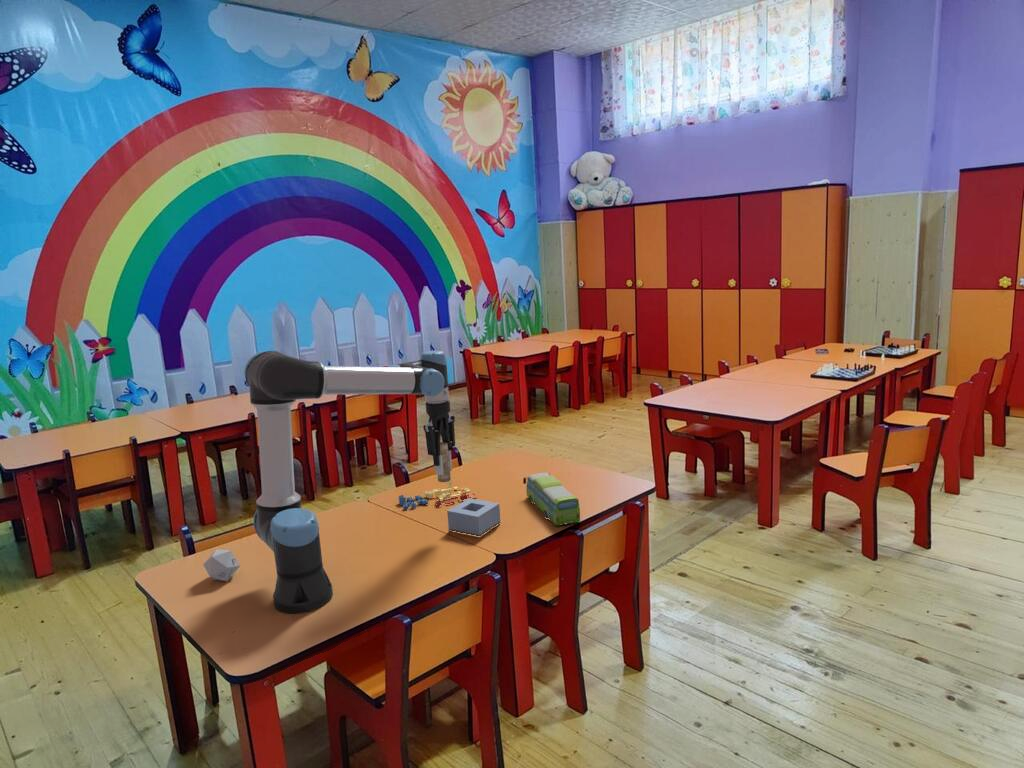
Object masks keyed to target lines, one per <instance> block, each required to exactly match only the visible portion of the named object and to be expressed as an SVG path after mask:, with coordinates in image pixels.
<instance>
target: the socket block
mask: <svg viewBox="0 0 1024 768" xmlns="http://www.w3.org/2000/svg"><path fill="white" fill-rule="evenodd" d="M500 508H501V507H500V503H499V502H492V501H487V500H482V499H478V498H476V499H471V498H468V499H467V500H465V501H463V502H459V503H458V504H455V506H453V507H451V508H450V509H447V511H446V514H447V526H448V531H449V530H451V531H456V532H460V533H466V534H471V535H476V536H481V535H482V534H484V533H485V532H487V531H488V530H490V529H491V528H492V527H494V526H496V525H497V524H499V523H501V510H500Z"/></svg>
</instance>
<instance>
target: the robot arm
mask: <svg viewBox="0 0 1024 768" xmlns="http://www.w3.org/2000/svg"><path fill="white" fill-rule="evenodd" d="M243 372H244V379H245V382H246V384H247V385H248V387H249V398H250V404H251V405H252V406H253V407H255V409H256V414H257V430H258V431H257V432H258V433H257V434H258V448H259V449H258V450H259V451H258V452H259V465H260V466H259V467H260V468H259V469H260V481H261V482H260V483H261V495H260V496H259V497H258V498H257V499H256V501H255V502H256V510H255V512H254V515H253V520H252V521H253V528H254V531H255V533H256V534H257V537H259V539H260V540H261V541H263V542H264V544H266V545H267V546H268V547H269V549H270V550H272V552H273V555H274V561H275V569H276V580H275V581H276V582H275V587H274V592H273V595H272V600H273V607H274V608H275V610H277V611H279V612H281V613H285V614H300V613H306V612H310V611H313V610H316V609H318V608H320V607H322V606H324V605H325V604H327V603H329V601H330V600H331V599H332V598H333V595H334V594H333V593H334V592H333V585H332V582H331V580H330V578H329V576H328V574H327V572H326V570H325V569H324V563H323V557H322V547H321V539H320V525H319V522H318V518H317V516H316V514H315V513H314V512H313V511H312V510H309V509H307V508H303V509H302V498H301V497H302V496H301V495H300V494H299V493H298V492H296V491H295V490H296V488H295V471H294V469H295V468H294V448H293V429H292V427H293V426H292V413H291V411H292V406H293V405H294V404H295V403H296V401H297V400H310V399H311V400H313V399H314V400H315V399H316V400H317V399H319V400H320V399H321V398H322V396H324V395H325V396H326V395H328V396H329V395H335V396H336V395H424V401H425V410H426V411H425V412H426V414H427V415H428V417H429V419H428V423H427V424H425V425H423V427H422V428H423V431H424V433H425V440H426V442H425V443H426V451H427V455H428V456H432V459H433V465H434V466H433V467H434V473H435V475H436V476H438V475H444V473H443V462H442V455H440V442H447V443H448V454H449V465H450V472H451V471H453V464H452V463H453V462H452V459H453V458H452V457H453V456H452V451H454V450H455V446H456V433H455V419H456V416H455V415H450V412H451V401H450V400H449V399H450V393H449V391H450V390H449V380H448V378H449V377H448V363H447V358H446V353H445V352H444V351H442V350H427V351H424V352H422V353H421V354H420V359H419V360H413V361H409V362H402V363H395V364H391V365H389V366H359V365H358V366H354V365H324V364H323V363H322V362H321V361H314V360H312V361H311V360H305V359H299V358H297V357H294V356H289V355H288V354H284V353H282V352H280V351H277V350H264V351H259V352H257V353H255V354H254V355H252V357H250V358H249V359H248V360H247V362H246V365H245V366H244V371H243Z"/></svg>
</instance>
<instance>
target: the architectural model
mask: <svg viewBox="0 0 1024 768" xmlns="http://www.w3.org/2000/svg"><path fill="white" fill-rule="evenodd" d="M452 481H453V480H452V479H451V480H450V481H448V482H447V488H444V489H441V488H434V489H431V490H430V489H427V490H426V491H424V497H425V496H426V497H427V498H433V495H434V496H435V497H437V496H439V497H438V498H439V499H440V500H445V499H447V498H450V497H451V498H452V497H456V496H459V495H461V496H460V499H461V500H464V499H467V498H471V497H469V494H468V495H466V494H465V493H469V492H471V493H472V491H471V489H469V488H468V487H462V488H460V489H461V491H459V490H458V491H457V492H458V494H457V493H454V494H450V493H451V492H453V488H454V489H457V488H459V486H453V483H452ZM463 491H465V493H464V494H463V495H462V494H459V493H461V492H463ZM472 494H473V495H475V493H472ZM440 495H441V496H440ZM467 496H468V497H467ZM424 497H423V496H421V495H420V494H417V495H415V496H414V498H415V499H414V498H412V496H409V497H406V496H404V494H400V495H398V504H399V503H400V504H399V505H401V506H402V505H403V506H402V510H403V511H407V510H406V509H408V510H409V508H411V509H412V508H415V509H417V506H419V505H420V504H428V505H429V499H427V498H426V497H425V498H426V499H424ZM416 499H418V500H417V502H416ZM439 499H438V500H435V502H434V504H437V505H438V506H440V505H441V506H442V504H441V501H440V500H439ZM407 501H409V502H407ZM412 502H413V503H412ZM414 502H415V503H414ZM443 502H444V503H445V504H450V503H454V502H456V500H455V501H454V499H450V500H446V501H443ZM410 503H411V504H410ZM444 503H443V504H444ZM437 505H436V506H437ZM420 506H421V505H420ZM438 506H437V507H438ZM408 507H409V508H408Z"/></svg>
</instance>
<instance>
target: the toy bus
mask: <svg viewBox="0 0 1024 768" xmlns="http://www.w3.org/2000/svg"><path fill="white" fill-rule="evenodd" d="M522 481H523V483H522V484H526V489H525V491H526V496H527V498H528V499H529V500H530V502H531V501H532V502H533V503H535V504H536V505H537V506H536V505H535V506H536V507H537V508H538V509H539V510H540V512H542V513H543V515H544V518H545V517H546V518H549V519H550V520H551V521H552V522H553V523H554V524H553V523H552V522H551V521H550V522H551V523H552V524H553V525H554V526H555V525H558V526H561V525H560V524H564V525H566V524H565V523H570V524H573V523H580V522H581V509H580V508H581V507H580V501H579V499H578V498H577V497H576V496H575V495H574V494H572V493H571V492H570V491H569V490H568V489H567V488H565V487H564V485H563V483H562V482H561V481H560V480H559V479H558V478H556V476H554V475H551V473H549V472H540V473H539V472H538V473H534V474H530V475H529V476H528V477H527V476H526V477H522ZM546 518H545V519H546ZM549 519H548V520H549Z"/></svg>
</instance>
